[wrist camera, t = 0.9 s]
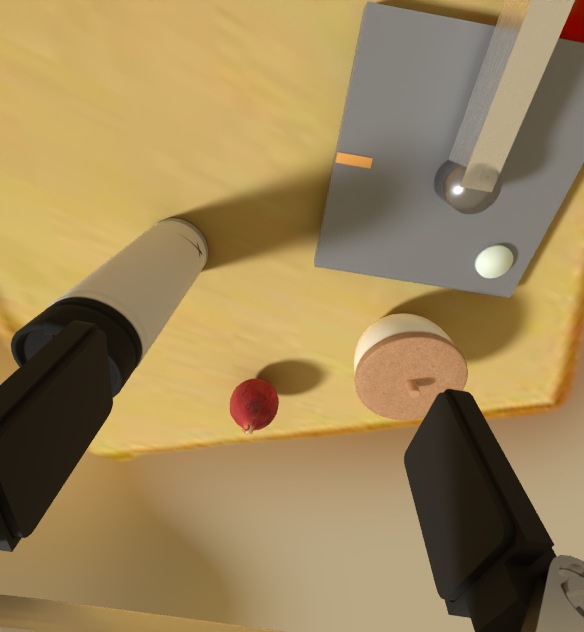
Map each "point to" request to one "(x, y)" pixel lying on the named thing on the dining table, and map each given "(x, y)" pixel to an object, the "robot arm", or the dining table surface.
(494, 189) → the light grey rectangular bar
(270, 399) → the onion
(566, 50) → the base
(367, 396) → the lidded jar
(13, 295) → the dining table surface
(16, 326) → the dining table surface
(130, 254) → the travel mug
